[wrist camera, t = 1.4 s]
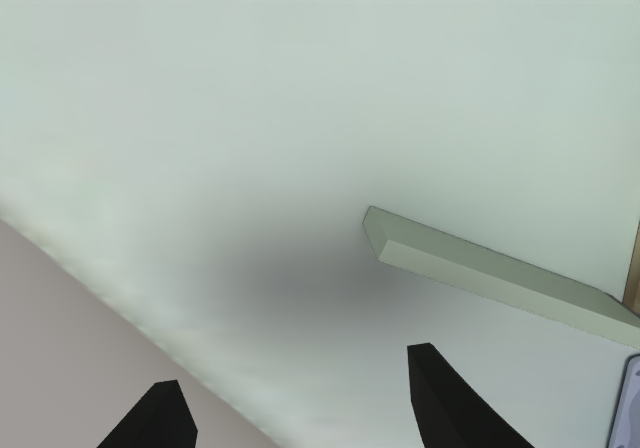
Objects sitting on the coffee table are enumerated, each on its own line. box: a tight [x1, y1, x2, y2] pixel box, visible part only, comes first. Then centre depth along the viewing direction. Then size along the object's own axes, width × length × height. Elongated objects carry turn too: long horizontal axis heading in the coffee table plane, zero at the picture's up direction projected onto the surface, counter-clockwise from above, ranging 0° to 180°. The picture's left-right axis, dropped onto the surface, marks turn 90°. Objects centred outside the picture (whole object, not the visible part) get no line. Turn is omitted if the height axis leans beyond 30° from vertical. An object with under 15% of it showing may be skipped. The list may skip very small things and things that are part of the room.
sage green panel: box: [363, 206, 640, 350], centre depth 17 cm, size 16×1×4 cm, turn 69°
